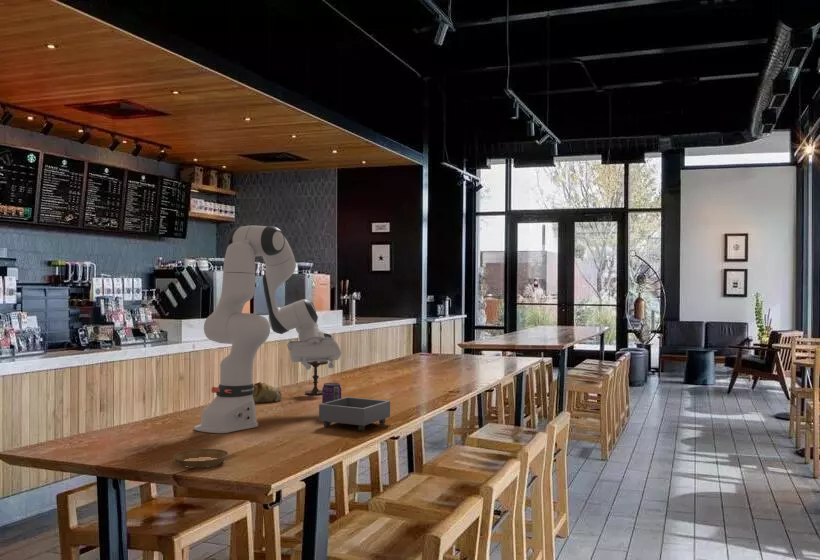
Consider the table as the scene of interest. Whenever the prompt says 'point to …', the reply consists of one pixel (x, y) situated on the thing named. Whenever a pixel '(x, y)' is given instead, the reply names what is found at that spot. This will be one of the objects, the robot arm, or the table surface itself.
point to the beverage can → (331, 392)
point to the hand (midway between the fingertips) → (320, 368)
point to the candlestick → (315, 377)
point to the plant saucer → (201, 453)
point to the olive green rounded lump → (266, 393)
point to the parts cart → (354, 411)
